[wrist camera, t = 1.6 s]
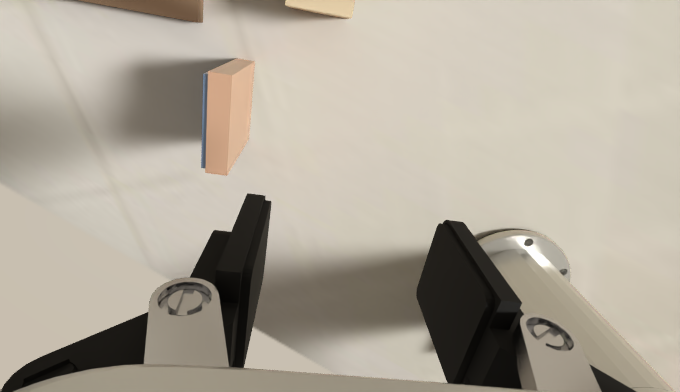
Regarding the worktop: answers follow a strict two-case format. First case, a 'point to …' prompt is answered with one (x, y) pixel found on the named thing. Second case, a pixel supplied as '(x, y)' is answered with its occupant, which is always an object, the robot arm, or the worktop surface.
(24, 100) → the worktop surface
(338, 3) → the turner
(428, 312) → the robot arm
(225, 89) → the tile
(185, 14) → the board
